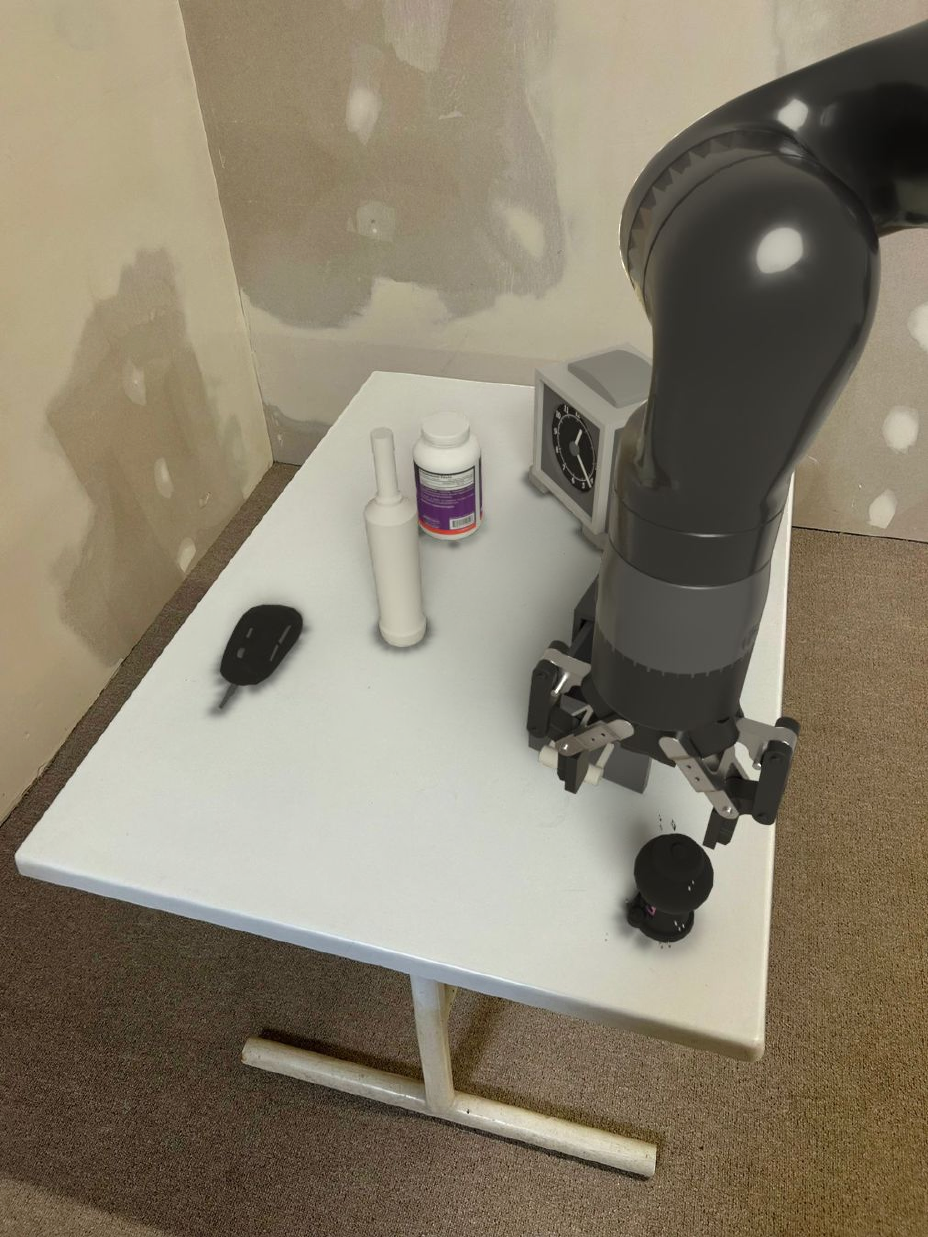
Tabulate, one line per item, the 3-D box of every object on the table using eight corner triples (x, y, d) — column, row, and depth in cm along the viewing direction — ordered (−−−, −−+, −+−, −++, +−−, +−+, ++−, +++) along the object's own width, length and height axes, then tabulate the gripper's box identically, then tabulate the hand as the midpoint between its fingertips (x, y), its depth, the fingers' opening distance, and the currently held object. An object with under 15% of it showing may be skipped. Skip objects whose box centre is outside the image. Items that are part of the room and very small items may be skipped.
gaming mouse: (194, 701, 88) (184, 675, 85) (263, 607, 98) (256, 580, 95) (248, 716, 87) (240, 689, 84) (313, 618, 97) (307, 591, 94)
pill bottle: (438, 498, 112) (432, 399, 102) (493, 515, 109) (493, 414, 99) (406, 533, 107) (396, 432, 97) (463, 551, 104) (459, 449, 94)
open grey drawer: (624, 832, 75) (633, 779, 69) (506, 781, 79) (507, 727, 73) (694, 687, 86) (707, 632, 81) (589, 649, 91) (594, 594, 85)
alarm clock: (525, 476, 115) (528, 347, 103) (608, 449, 119) (620, 322, 107) (602, 552, 103) (616, 417, 91) (691, 519, 107) (716, 386, 95)
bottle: (389, 612, 97) (364, 415, 80) (433, 619, 96) (417, 421, 79) (373, 644, 93) (344, 445, 76) (419, 652, 92) (399, 452, 75)
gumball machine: (611, 885, 72) (623, 818, 65) (678, 869, 73) (697, 801, 66) (641, 962, 67) (657, 898, 60) (712, 944, 68) (736, 879, 61)
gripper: (850, 606, 40) (777, 806, 51) (568, 526, 46) (558, 723, 57) (815, 717, 36) (743, 910, 47) (505, 614, 41) (507, 810, 52)
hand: (642, 808), depth 52 cm, fingers open, 8 cm apart
